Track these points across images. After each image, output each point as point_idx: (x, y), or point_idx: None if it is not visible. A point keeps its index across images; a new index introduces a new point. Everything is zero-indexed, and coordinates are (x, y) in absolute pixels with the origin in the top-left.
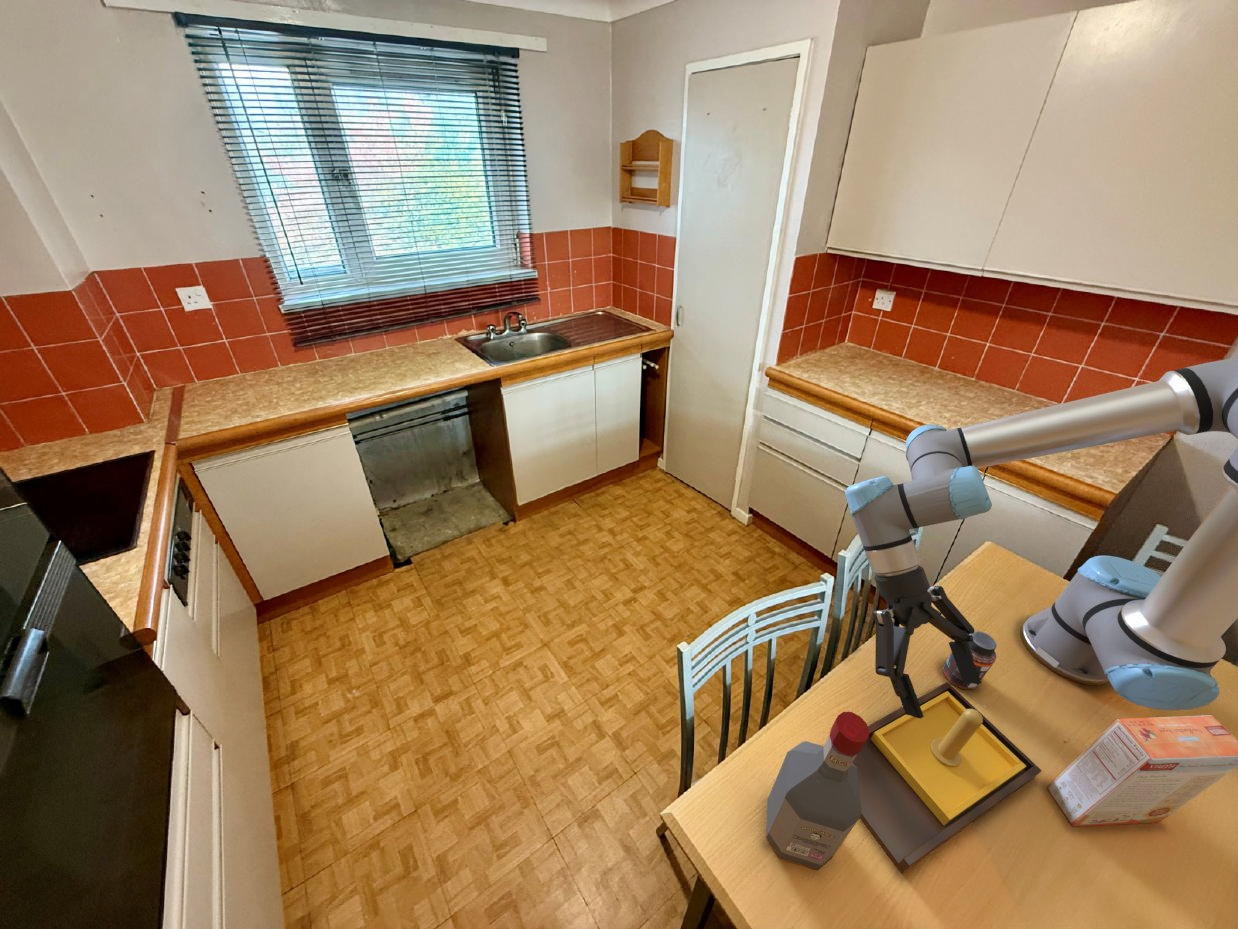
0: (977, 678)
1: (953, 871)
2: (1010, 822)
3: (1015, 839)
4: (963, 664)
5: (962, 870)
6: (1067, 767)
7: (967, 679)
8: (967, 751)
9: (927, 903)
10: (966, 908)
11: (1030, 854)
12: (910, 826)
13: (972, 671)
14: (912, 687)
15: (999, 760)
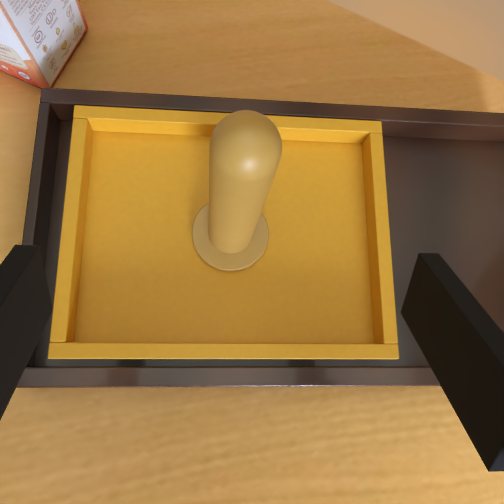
0: (19, 260)
1: (394, 97)
2: (203, 92)
3: (226, 71)
4: (12, 341)
5: (376, 90)
6: (5, 16)
7: (42, 296)
8: (166, 211)
9: (479, 90)
10: (418, 56)
11: (224, 45)
12: (434, 173)
13: (16, 288)
14: (490, 342)
15: (109, 159)
